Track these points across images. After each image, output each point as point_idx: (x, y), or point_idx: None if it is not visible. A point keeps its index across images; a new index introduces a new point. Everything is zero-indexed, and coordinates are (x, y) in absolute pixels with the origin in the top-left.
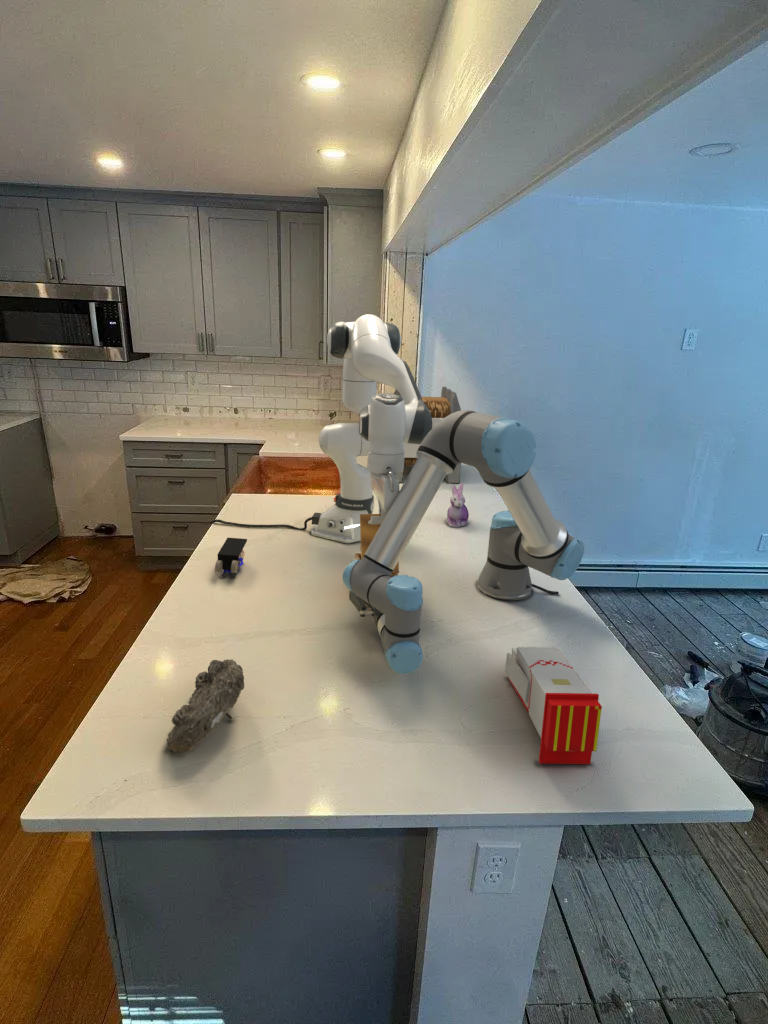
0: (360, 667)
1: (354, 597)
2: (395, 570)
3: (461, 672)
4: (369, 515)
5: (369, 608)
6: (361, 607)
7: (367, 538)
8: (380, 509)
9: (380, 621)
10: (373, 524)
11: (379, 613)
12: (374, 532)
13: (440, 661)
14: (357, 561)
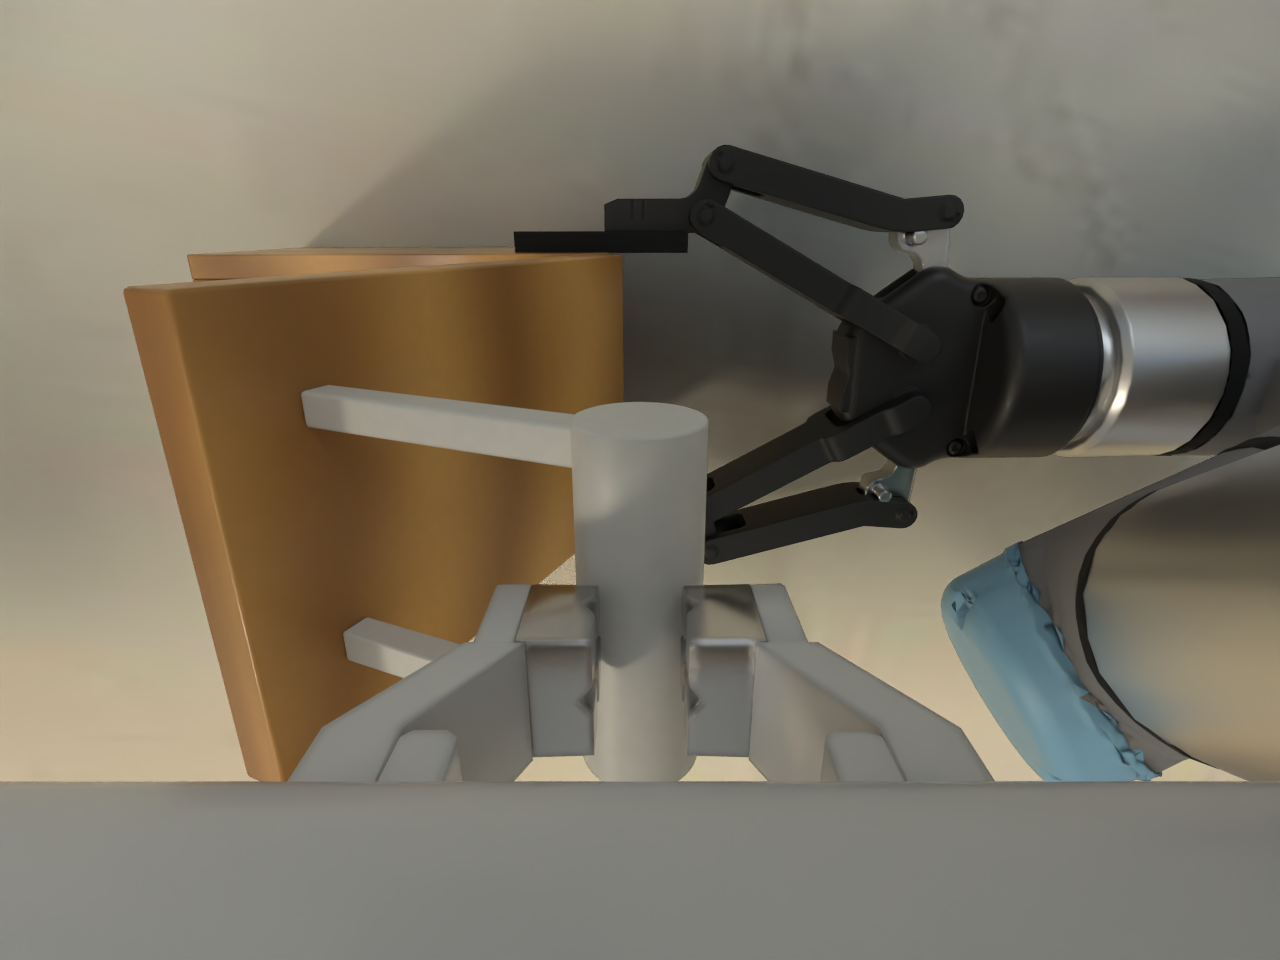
0: (1076, 492)
1: (784, 544)
2: (612, 282)
3: (1277, 39)
4: (279, 684)
5: (892, 474)
6: (906, 523)
7: (476, 578)
8: (581, 745)
9: (1103, 454)
10: (368, 583)
11: (1041, 453)
12: (430, 536)
13: (1157, 127)
14: (1131, 760)
